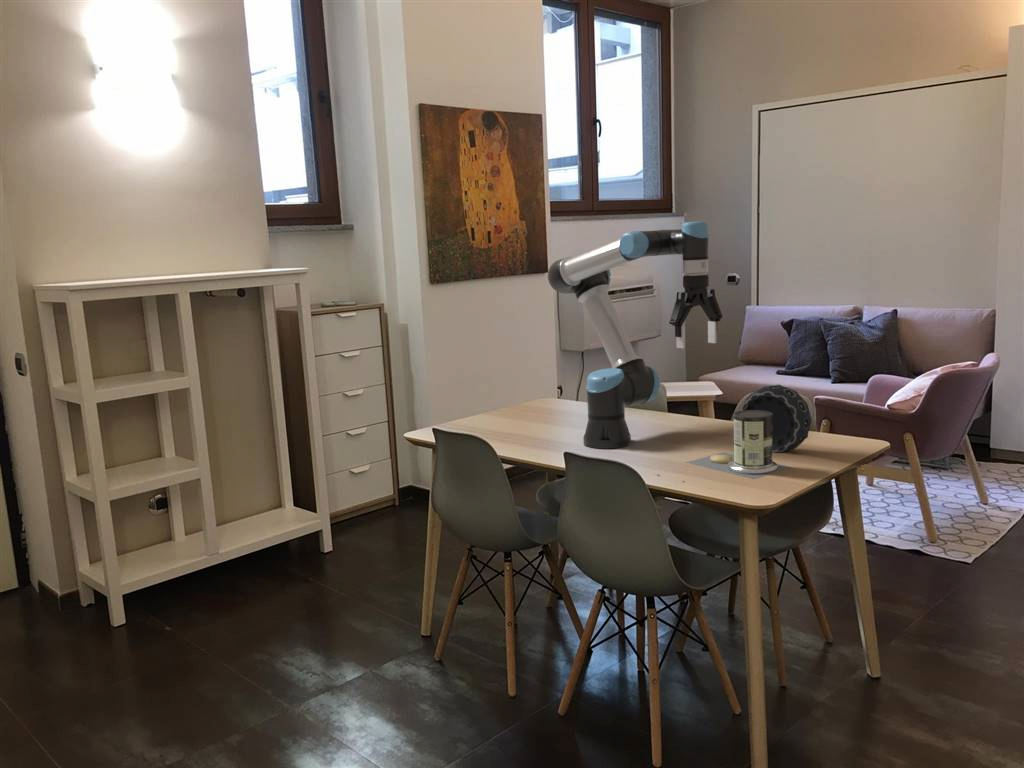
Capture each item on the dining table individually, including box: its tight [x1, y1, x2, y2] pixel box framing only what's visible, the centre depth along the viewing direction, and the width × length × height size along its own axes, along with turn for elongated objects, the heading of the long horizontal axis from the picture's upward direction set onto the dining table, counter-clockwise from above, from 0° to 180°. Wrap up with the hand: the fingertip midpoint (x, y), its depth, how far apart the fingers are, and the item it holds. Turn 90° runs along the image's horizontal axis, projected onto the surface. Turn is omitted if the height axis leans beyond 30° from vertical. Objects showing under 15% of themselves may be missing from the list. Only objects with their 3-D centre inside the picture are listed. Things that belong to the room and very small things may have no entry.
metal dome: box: [728, 460, 778, 475], centre depth 238 cm, size 13×13×1 cm
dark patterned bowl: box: [740, 384, 813, 453], centre depth 257 cm, size 11×20×20 cm, turn 51°
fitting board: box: [685, 451, 793, 480], centre depth 242 cm, size 24×16×2 cm, turn 35°
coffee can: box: [732, 410, 773, 469], centre depth 237 cm, size 10×10×14 cm
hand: (696, 345), depth 263 cm, fingers open, 13 cm apart
